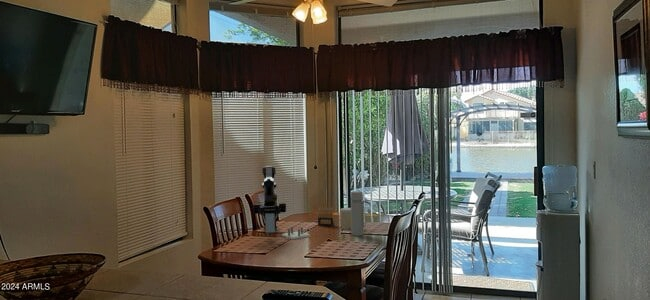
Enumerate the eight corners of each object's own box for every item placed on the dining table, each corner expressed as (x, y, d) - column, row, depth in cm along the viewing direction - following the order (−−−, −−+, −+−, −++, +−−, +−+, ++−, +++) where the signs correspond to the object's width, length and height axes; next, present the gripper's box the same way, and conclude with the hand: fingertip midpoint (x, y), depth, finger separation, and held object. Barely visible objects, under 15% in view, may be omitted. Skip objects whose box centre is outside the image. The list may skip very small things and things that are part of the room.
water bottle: (348, 235, 276) (348, 192, 275) (354, 233, 283) (353, 191, 282) (363, 237, 272) (362, 193, 271) (369, 234, 279) (368, 191, 278)
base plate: (281, 236, 280) (281, 228, 280) (299, 233, 287) (299, 225, 287) (291, 239, 270) (291, 231, 270) (309, 236, 277) (309, 228, 277)
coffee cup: (358, 227, 300) (357, 208, 299) (348, 230, 293) (348, 210, 293) (346, 226, 306) (346, 207, 306) (337, 228, 299) (336, 209, 299)
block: (265, 230, 275) (265, 213, 275) (274, 230, 276) (274, 213, 275) (265, 232, 270) (265, 215, 270) (274, 232, 271) (274, 214, 270)
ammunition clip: (334, 225, 309) (333, 207, 309) (333, 226, 307) (332, 207, 307) (318, 224, 313) (318, 206, 312) (317, 225, 311) (317, 206, 311)
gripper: (252, 190, 275) (252, 212, 264) (285, 189, 277) (286, 211, 267) (253, 202, 283) (253, 224, 272) (285, 200, 285) (286, 222, 275)
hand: (270, 220), depth 271 cm, fingers closed on block, 5 cm apart
